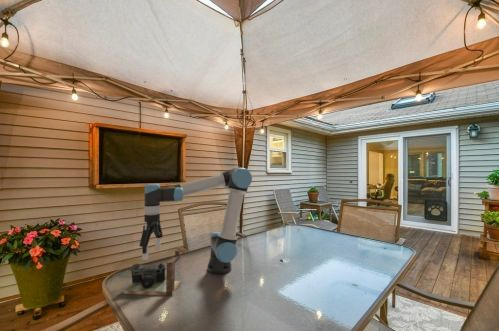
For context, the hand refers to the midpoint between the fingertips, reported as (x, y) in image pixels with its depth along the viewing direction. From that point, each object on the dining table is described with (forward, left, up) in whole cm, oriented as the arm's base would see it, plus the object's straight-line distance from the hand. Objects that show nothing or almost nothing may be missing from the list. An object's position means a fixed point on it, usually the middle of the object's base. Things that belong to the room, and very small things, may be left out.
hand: (151, 254), depth 119 cm
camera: (+2, 0, -16) cm, 16 cm away
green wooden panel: (-2, 0, -17) cm, 17 cm away
